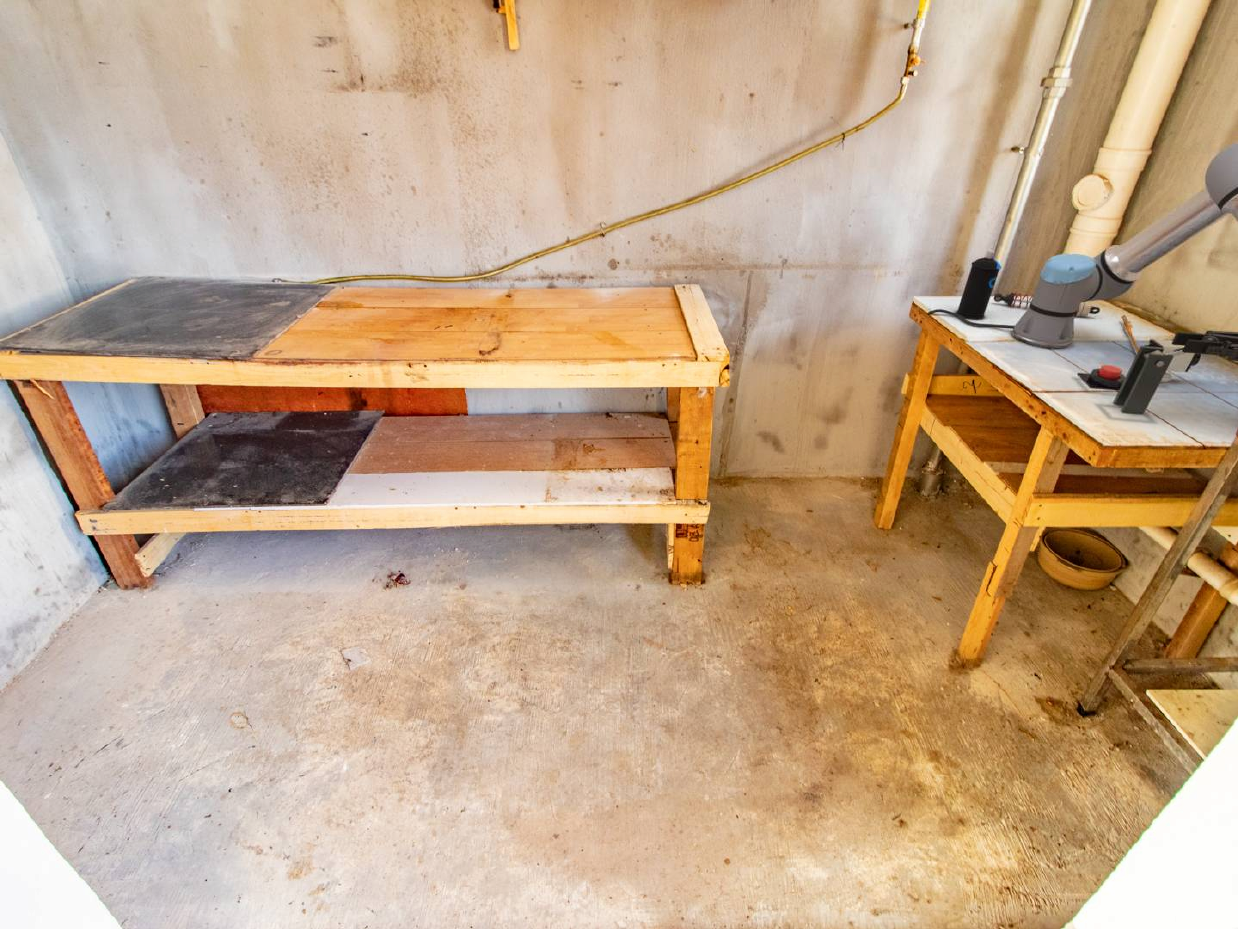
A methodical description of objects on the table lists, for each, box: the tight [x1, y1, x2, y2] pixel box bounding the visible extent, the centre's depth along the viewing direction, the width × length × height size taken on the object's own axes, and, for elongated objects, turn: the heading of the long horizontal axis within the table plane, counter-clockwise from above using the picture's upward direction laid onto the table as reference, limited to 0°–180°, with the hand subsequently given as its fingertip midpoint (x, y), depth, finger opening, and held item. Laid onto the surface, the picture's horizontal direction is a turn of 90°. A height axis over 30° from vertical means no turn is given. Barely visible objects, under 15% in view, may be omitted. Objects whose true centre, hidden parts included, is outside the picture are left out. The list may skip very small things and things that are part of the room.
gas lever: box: [1143, 336, 1219, 364], centre depth 143 cm, size 13×4×4 cm, turn 79°
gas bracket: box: [1112, 345, 1174, 416], centre depth 149 cm, size 9×7×16 cm
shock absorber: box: [993, 292, 1101, 318], centre depth 209 cm, size 5×5×30 cm
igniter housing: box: [1076, 367, 1126, 392], centre depth 163 cm, size 10×8×4 cm
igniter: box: [1098, 364, 1123, 379], centre depth 162 cm, size 4×4×2 cm
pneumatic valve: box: [1143, 338, 1202, 383], centre depth 164 cm, size 6×12×12 cm, turn 82°
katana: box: [1121, 315, 1140, 356], centre depth 189 cm, size 1×35×3 cm, turn 154°
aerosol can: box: [955, 249, 1002, 321], centre depth 201 cm, size 8×8×20 cm
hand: (1180, 342), depth 142 cm, fingers closed on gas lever, 4 cm apart
